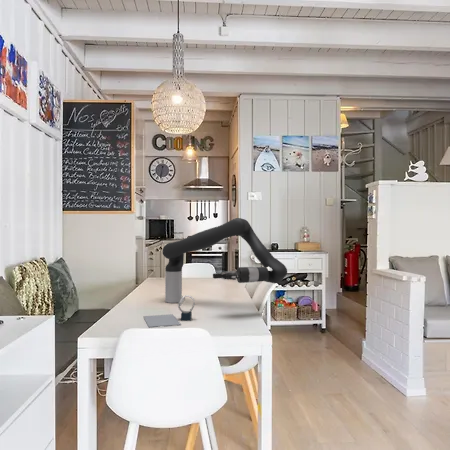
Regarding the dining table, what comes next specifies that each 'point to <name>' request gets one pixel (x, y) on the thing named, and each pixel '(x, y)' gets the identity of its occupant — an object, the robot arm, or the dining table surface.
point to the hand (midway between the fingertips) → (213, 276)
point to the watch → (186, 314)
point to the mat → (161, 320)
